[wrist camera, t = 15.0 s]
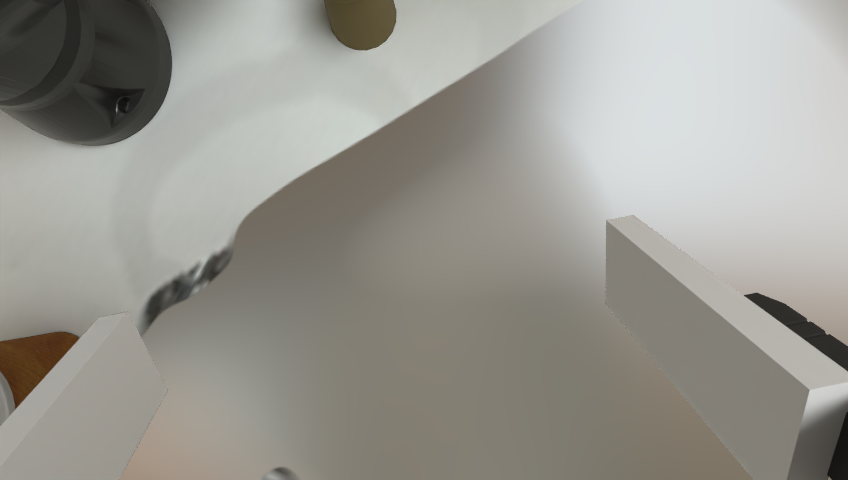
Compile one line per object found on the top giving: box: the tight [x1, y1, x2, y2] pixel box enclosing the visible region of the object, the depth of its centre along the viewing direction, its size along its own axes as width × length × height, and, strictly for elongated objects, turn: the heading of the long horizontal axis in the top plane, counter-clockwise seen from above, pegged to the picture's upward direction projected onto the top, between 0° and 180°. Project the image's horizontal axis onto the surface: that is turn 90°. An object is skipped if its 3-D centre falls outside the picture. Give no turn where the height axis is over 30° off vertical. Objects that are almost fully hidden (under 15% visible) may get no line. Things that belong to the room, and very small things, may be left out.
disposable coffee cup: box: [0, 332, 80, 426], centre depth 39 cm, size 10×10×12 cm
